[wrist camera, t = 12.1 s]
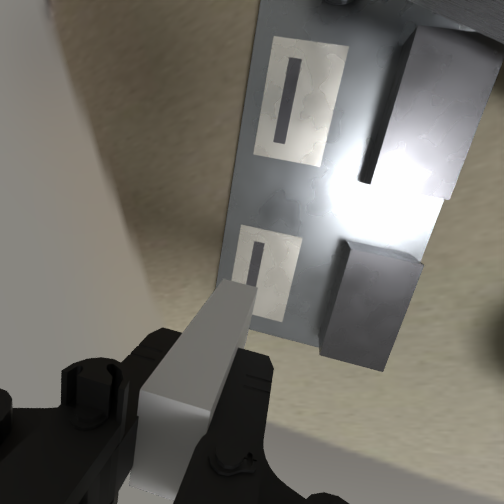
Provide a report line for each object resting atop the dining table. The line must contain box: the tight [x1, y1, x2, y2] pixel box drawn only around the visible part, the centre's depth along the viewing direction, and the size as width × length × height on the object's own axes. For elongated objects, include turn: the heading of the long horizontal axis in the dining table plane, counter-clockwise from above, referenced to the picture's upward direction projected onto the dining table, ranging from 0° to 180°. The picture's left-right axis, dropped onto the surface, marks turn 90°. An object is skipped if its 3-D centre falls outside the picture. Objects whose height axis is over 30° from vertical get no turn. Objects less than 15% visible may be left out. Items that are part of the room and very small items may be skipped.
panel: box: [216, 0, 504, 372], centre depth 19 cm, size 26×14×4 cm, turn 170°
